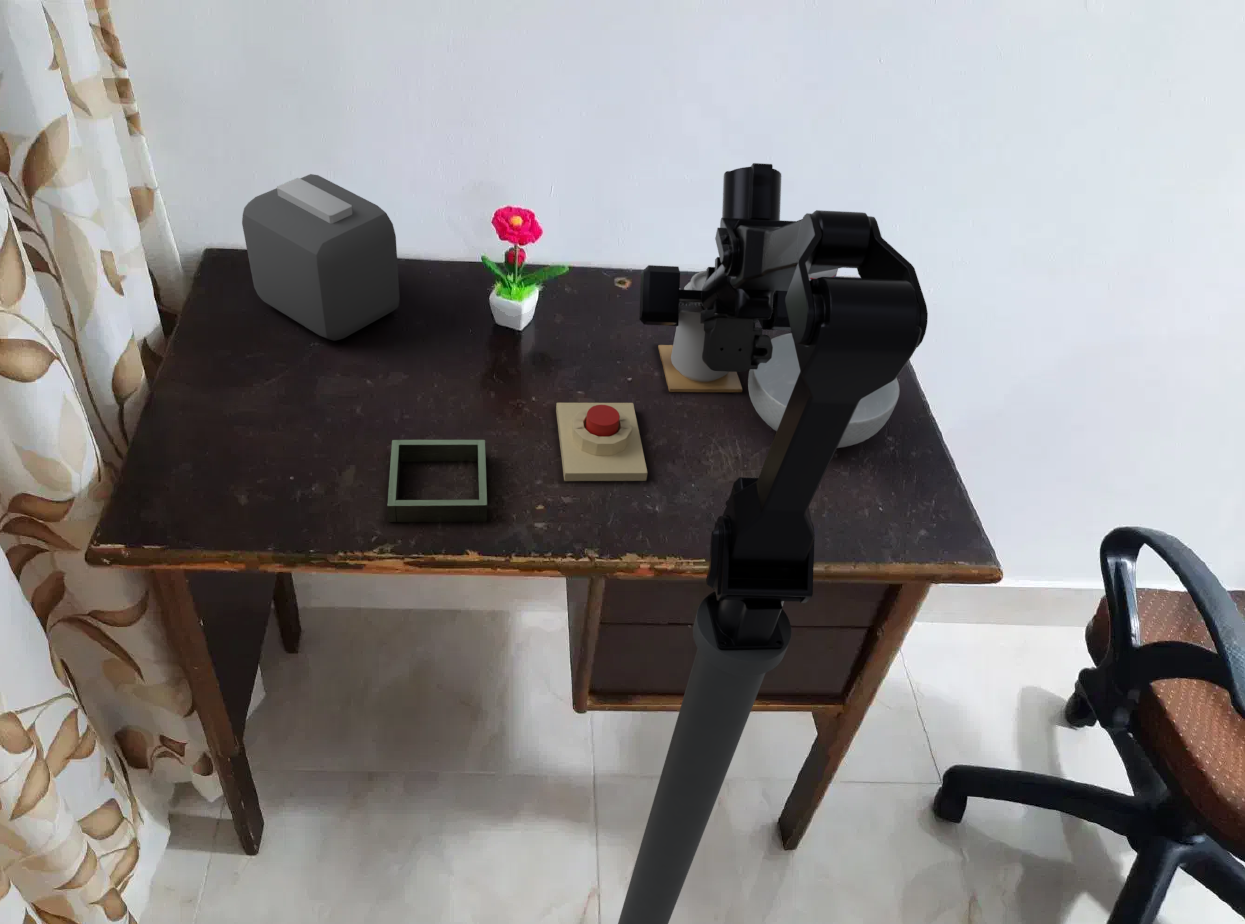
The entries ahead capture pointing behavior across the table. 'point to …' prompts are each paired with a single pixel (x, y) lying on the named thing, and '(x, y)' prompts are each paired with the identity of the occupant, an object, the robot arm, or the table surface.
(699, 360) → the can
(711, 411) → the table surface
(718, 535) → the robot arm
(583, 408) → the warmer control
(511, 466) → the table surface
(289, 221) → the alarm clock
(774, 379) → the cereal bowl
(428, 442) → the grey-green square frame
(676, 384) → the cork coaster
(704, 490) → the table surface
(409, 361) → the table surface
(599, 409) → the stop button
